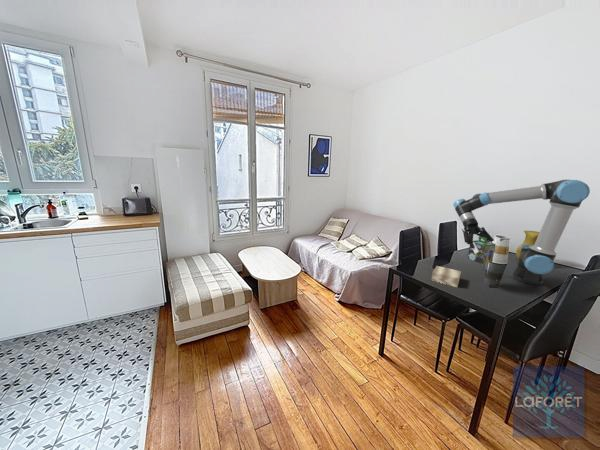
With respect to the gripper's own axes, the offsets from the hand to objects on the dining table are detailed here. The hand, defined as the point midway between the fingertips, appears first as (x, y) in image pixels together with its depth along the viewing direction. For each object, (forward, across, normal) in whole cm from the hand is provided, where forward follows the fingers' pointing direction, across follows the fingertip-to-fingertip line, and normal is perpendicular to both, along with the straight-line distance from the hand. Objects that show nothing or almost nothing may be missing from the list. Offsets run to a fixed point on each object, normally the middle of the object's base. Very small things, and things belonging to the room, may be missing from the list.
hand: (485, 252), depth 142 cm
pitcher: (-7, -74, -37) cm, 83 cm away
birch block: (+9, +15, -22) cm, 28 cm away
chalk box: (+2, 0, -7) cm, 7 cm away
